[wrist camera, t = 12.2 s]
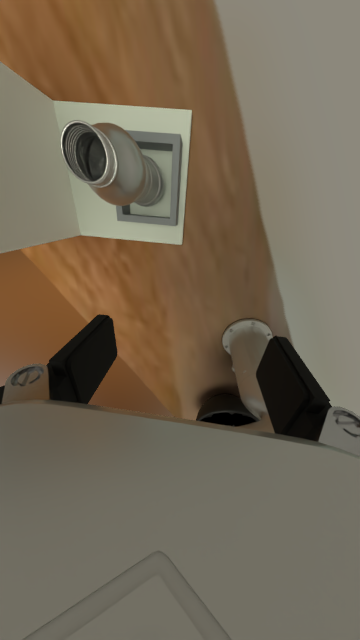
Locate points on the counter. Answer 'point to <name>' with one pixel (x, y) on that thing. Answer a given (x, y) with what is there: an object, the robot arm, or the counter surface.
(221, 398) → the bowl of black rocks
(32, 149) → the socket stand
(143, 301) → the counter surface
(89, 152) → the grey tall bottle shape
